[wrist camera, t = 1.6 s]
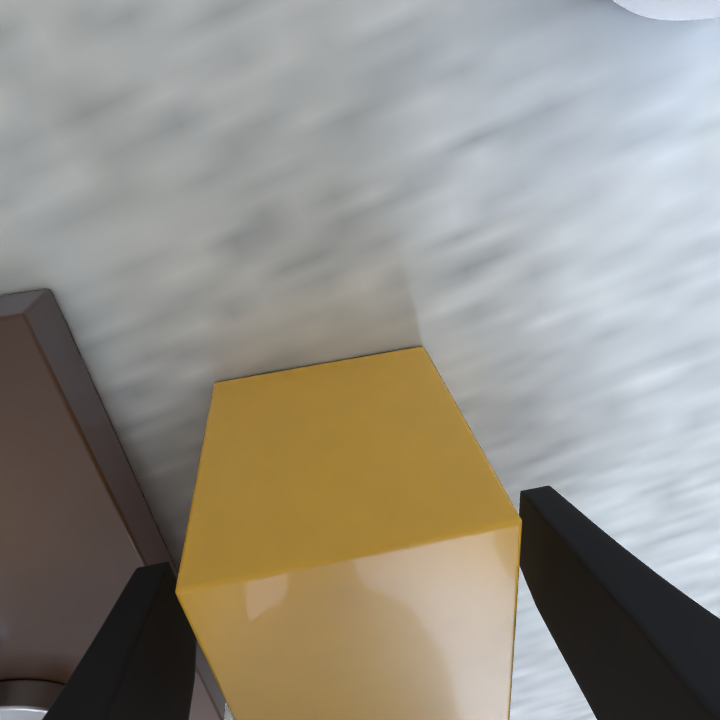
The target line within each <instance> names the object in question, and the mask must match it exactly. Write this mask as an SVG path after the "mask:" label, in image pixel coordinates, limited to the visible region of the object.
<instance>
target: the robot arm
mask: <svg viewBox="0 0 720 720" xmlns="http://www.w3.org/2000/svg"><path fill="white" fill-rule="evenodd" d="M519 516H520V518H521V520H522V532H521V547H520V563H519V565H520V567H521V570H522V572H523V575H524V578H525V580H526V583H527V585H528V587H529V590H530V592H531V595H532V597H533V599H534V602H535V604H536V606H537V608H538V610H539V612H540V614H541V616H542V618H543V620H544V622H545V624H546V625H547V627H548V629H549V631H550V633H551V635H552V637H553V639H554V640H555V642H556V644H557V646H558V648H559V650H560V652H561V653H562V655H563V657H564V659H565V661H566V663H567V664H568V666H569V668H570V670H571V672H572V674H573V676H574V677H575V679H576V681H577V683H578V685H579V687H580V689H581V690H582V692H583V694H584V696H585V698H586V700H587V702H588V703H589V705H590V707H591V709H592V711H593V713H594V714H595V716H596V718H597V720H720V619H719V618H718V617H716V616H715V615H713V614H712V613H710V612H709V611H708V610H706V609H705V608H703V607H702V606H700V605H699V604H698V603H696V602H695V601H694V600H692V599H691V598H689V597H688V596H687V595H685V594H684V593H682V592H681V591H680V590H678V589H677V588H675V587H674V586H673V585H671V584H670V583H669V582H667V581H666V580H665V579H663V578H662V577H661V576H659V575H658V574H657V573H655V572H654V571H653V570H652V569H650V568H649V567H648V566H646V565H645V564H644V563H643V562H641V561H640V560H639V559H638V558H636V557H635V556H634V555H632V554H631V553H630V552H629V551H627V550H626V549H625V548H624V547H622V546H621V545H620V544H619V543H617V542H616V541H615V540H614V539H612V538H611V537H610V536H609V535H608V534H606V533H605V532H604V531H603V530H602V529H600V528H599V527H598V526H597V525H595V524H594V523H593V522H592V521H591V520H590V519H588V518H587V517H586V516H585V515H584V514H582V513H581V512H580V511H579V510H578V509H577V508H575V507H574V506H573V505H572V504H571V503H570V502H568V501H567V500H566V499H565V498H564V497H562V496H561V495H560V494H559V493H558V492H557V491H555V490H554V489H553V488H552V487H550V486H544V487H539V488H534V489H529V490H524V491H521V493H520V509H519ZM176 584H177V579H176V576H175V574H174V572H173V570H172V568H171V566H170V563H169V562H164V563H159V564H154V565H149V566H144V567H139V568H137V569H136V570H135V571H134V573H133V574H132V576H131V578H130V579H129V581H128V583H127V584H126V586H125V588H124V589H123V591H122V593H121V595H120V596H119V598H118V600H117V601H116V603H115V605H114V606H113V608H112V610H111V611H110V613H109V615H108V616H107V618H106V620H105V621H104V623H103V625H102V626H101V628H100V630H99V631H98V633H97V635H96V636H95V638H94V640H93V641H92V643H91V645H90V646H89V648H88V649H87V651H86V653H85V654H84V656H83V657H82V659H81V660H80V662H79V664H78V665H77V667H76V668H75V670H74V672H73V673H72V675H71V676H70V678H69V679H68V681H67V683H66V684H65V686H64V687H63V689H62V690H61V692H60V694H59V695H58V697H57V698H56V700H55V701H54V703H53V704H52V706H51V707H50V709H49V710H48V711H47V713H46V714H45V716H44V717H43V719H42V720H189V715H190V708H191V702H192V695H193V688H194V681H195V666H196V646H197V638H196V636H195V634H194V632H193V630H192V628H191V625H190V623H189V621H188V619H187V617H186V615H185V613H184V610H183V608H182V606H181V604H180V602H179V600H178V598H177V595H176V593H175V590H176Z"/></svg>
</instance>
